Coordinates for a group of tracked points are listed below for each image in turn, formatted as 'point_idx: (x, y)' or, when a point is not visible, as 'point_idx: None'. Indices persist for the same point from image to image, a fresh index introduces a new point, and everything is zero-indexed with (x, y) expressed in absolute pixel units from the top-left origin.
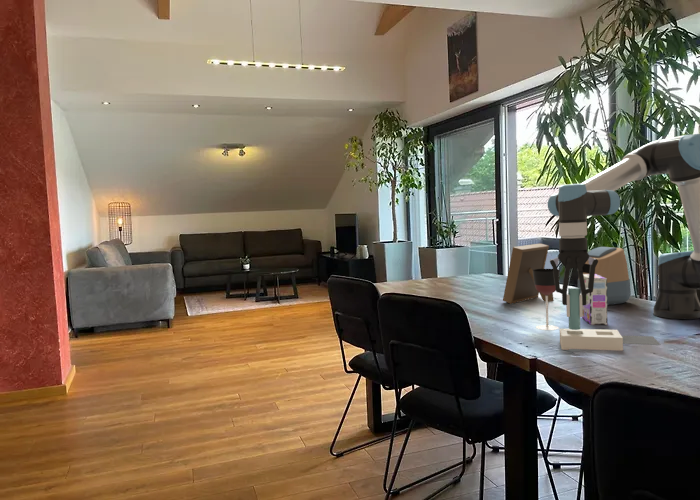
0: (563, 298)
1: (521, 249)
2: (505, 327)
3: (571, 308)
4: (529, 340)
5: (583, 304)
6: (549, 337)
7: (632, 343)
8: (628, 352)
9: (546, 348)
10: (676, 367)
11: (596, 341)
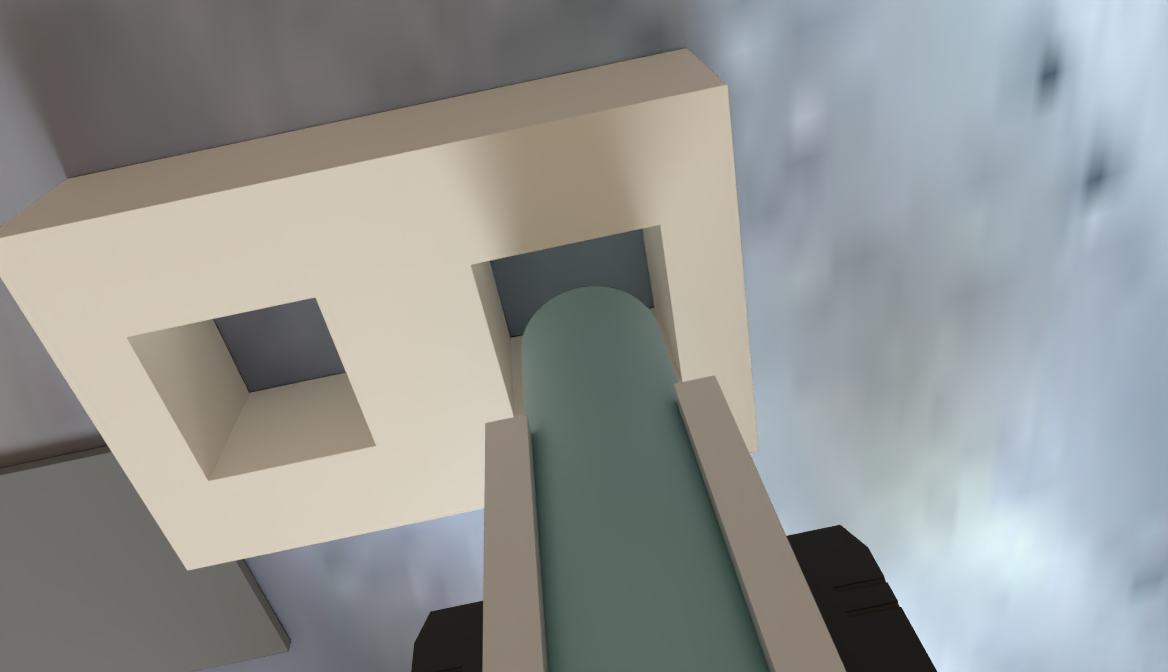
0: (894, 641)
1: None
2: (1139, 626)
3: (675, 479)
4: (996, 313)
5: (468, 614)
6: (813, 465)
7: (79, 467)
8: (7, 174)
9: (847, 49)
10: None
11: (305, 155)
